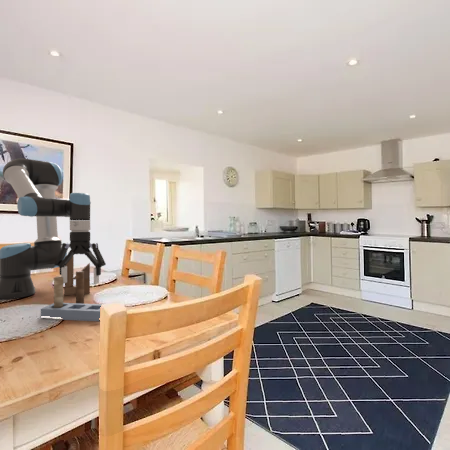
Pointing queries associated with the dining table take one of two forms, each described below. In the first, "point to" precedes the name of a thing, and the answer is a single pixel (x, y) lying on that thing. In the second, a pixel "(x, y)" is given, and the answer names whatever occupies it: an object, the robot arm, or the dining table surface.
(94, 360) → the dining table surface
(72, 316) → the hole block
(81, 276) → the walnut dowel
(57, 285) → the beech dowel
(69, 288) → the wooden block
